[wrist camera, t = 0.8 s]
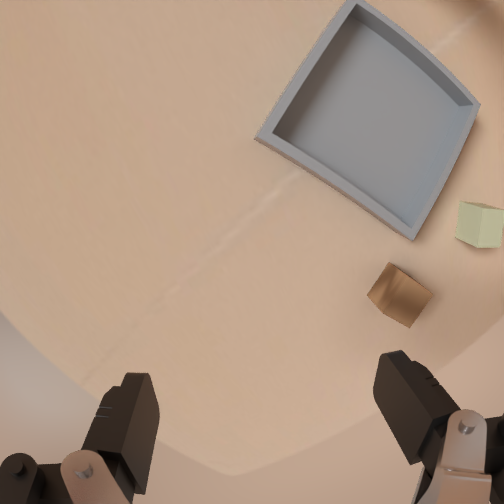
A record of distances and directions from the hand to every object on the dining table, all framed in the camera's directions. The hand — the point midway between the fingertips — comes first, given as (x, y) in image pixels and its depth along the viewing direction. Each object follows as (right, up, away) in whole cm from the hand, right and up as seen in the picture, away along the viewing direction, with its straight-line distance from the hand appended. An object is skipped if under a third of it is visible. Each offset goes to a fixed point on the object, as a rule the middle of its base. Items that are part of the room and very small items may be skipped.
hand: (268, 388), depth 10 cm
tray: (+13, +20, +21) cm, 32 cm away
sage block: (+29, +9, +26) cm, 40 cm away
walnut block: (+17, 0, +28) cm, 33 cm away
